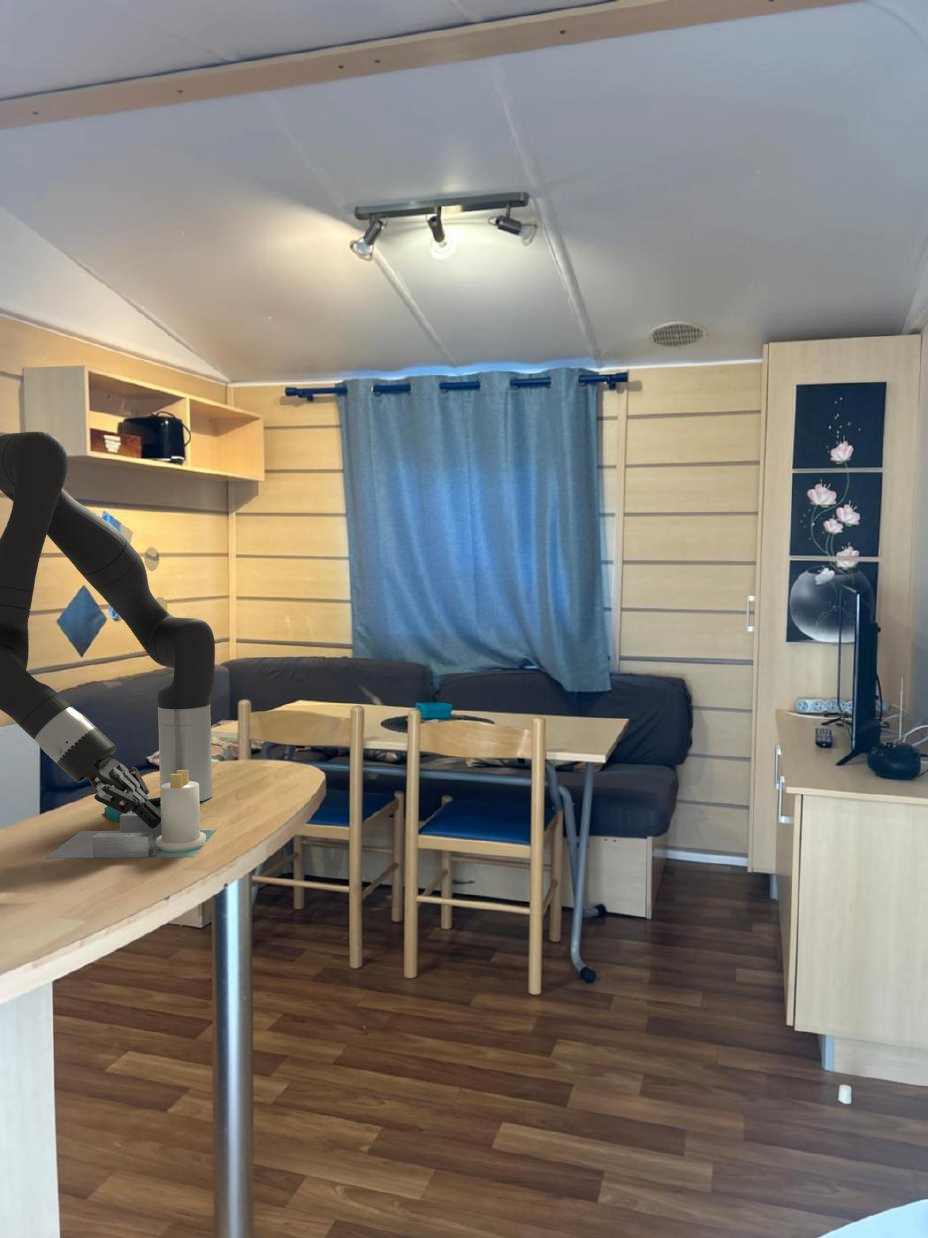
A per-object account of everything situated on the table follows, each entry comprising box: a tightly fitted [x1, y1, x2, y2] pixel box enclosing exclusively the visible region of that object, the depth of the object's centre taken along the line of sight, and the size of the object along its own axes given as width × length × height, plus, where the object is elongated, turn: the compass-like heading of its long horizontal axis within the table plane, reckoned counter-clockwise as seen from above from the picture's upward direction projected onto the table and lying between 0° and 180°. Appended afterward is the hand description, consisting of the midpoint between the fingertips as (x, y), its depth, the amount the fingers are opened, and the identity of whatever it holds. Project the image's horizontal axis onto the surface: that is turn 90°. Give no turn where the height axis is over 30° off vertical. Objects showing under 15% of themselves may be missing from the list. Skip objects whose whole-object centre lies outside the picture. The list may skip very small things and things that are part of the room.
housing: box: [44, 812, 217, 859], centre depth 140 cm, size 13×22×4 cm, turn 91°
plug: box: [156, 770, 207, 852], centre depth 139 cm, size 7×7×11 cm
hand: (159, 823), depth 139 cm, fingers closed
